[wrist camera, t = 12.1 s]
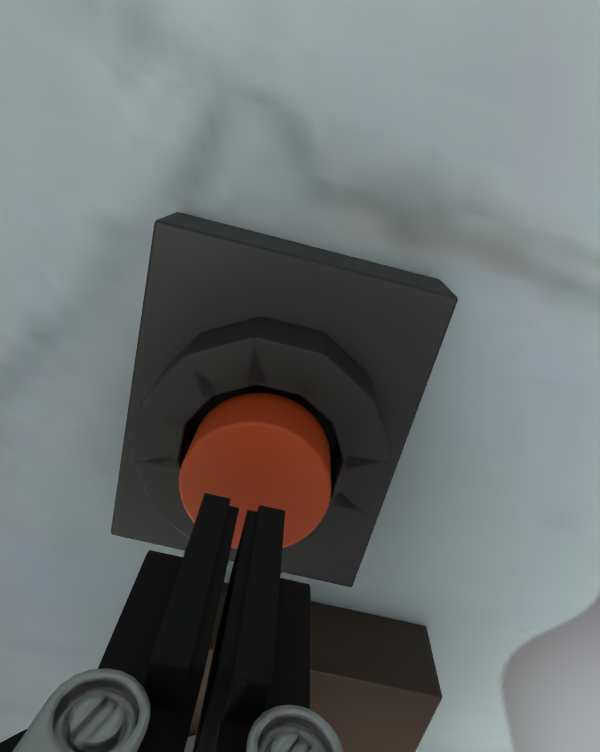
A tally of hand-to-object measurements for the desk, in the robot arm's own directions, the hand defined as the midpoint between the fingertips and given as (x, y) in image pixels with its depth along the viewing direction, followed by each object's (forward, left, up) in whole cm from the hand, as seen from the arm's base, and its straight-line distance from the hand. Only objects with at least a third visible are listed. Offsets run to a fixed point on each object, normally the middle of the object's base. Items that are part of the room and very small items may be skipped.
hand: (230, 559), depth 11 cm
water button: (0, 0, -4) cm, 4 cm away
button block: (0, 0, -7) cm, 7 cm away
